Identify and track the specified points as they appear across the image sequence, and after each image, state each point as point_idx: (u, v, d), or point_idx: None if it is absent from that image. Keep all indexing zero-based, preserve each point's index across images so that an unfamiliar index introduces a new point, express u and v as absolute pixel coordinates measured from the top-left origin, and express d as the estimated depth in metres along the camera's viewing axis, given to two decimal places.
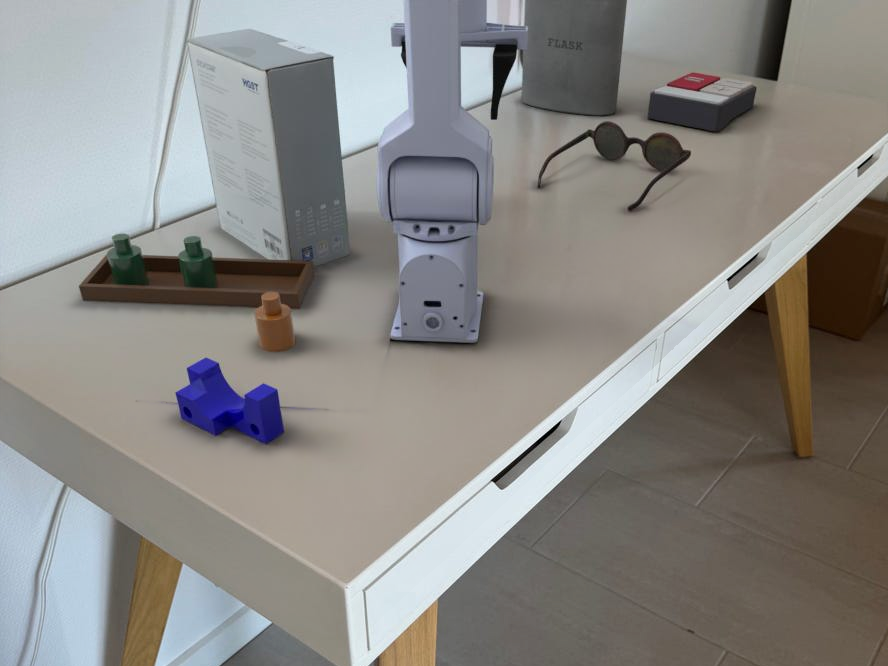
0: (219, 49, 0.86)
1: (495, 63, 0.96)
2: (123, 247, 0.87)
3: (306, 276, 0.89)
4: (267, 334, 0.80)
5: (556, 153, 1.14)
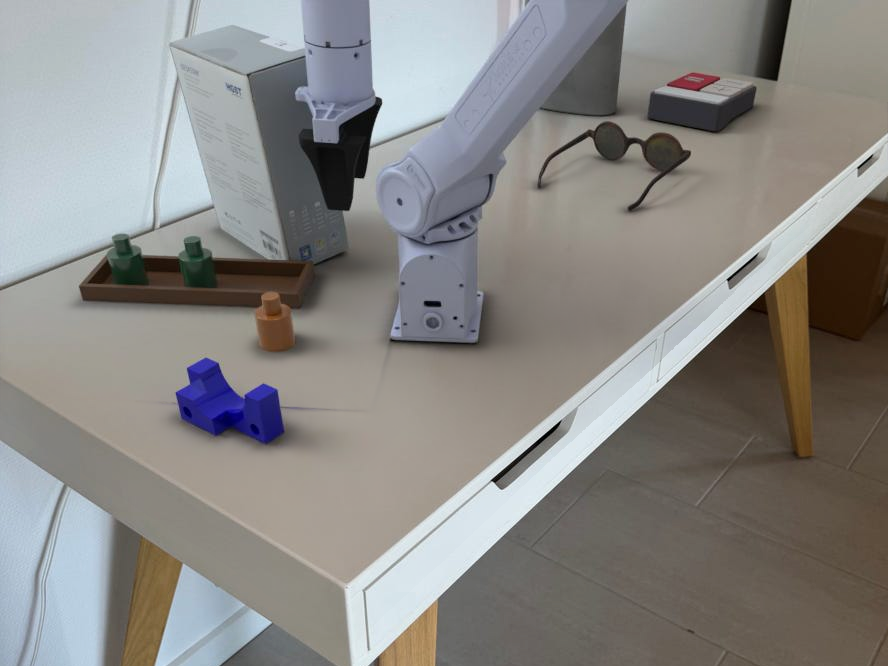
0: (201, 53, 0.85)
1: (378, 112, 0.86)
2: (123, 247, 0.87)
3: (306, 276, 0.89)
4: (267, 334, 0.80)
5: (556, 153, 1.14)
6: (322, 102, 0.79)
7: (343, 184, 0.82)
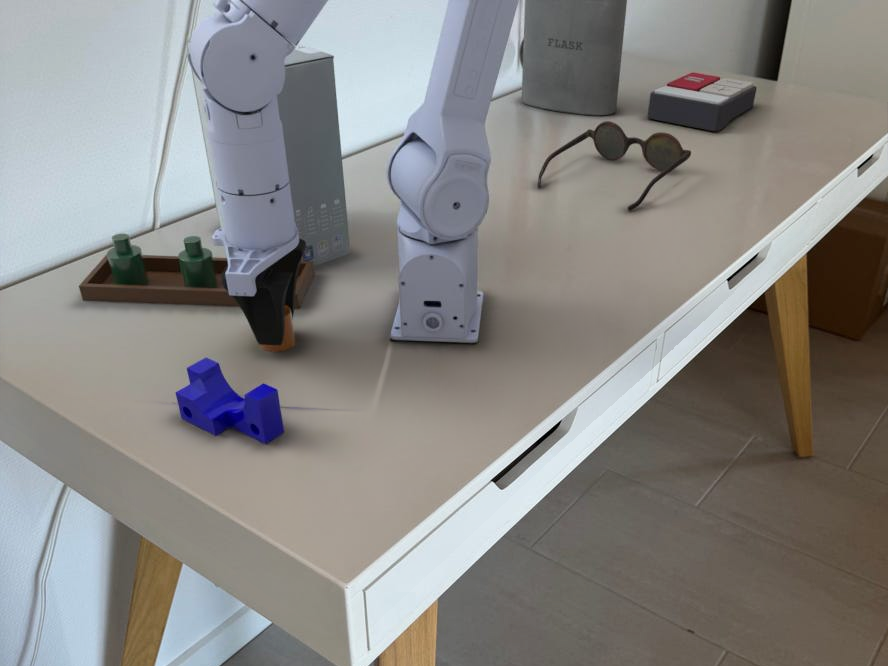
0: None
1: (301, 257, 0.79)
2: (123, 247, 0.87)
3: (306, 276, 0.89)
4: None
5: (556, 153, 1.14)
6: (239, 249, 0.73)
7: (272, 320, 0.78)
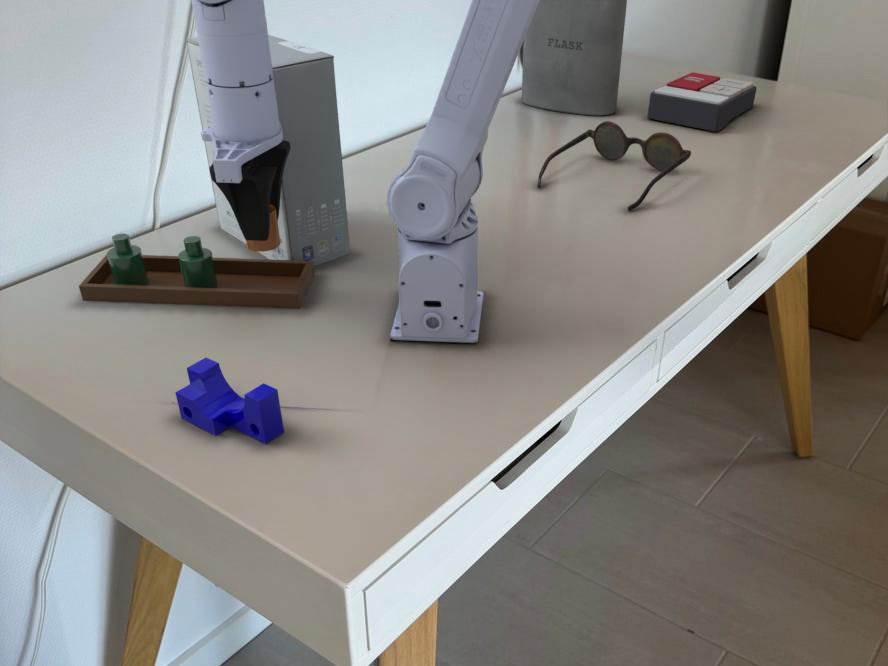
0: None
1: (285, 157, 0.83)
2: (123, 247, 0.87)
3: (306, 276, 0.89)
4: None
5: (556, 153, 1.14)
6: (226, 142, 0.78)
7: (258, 214, 0.82)
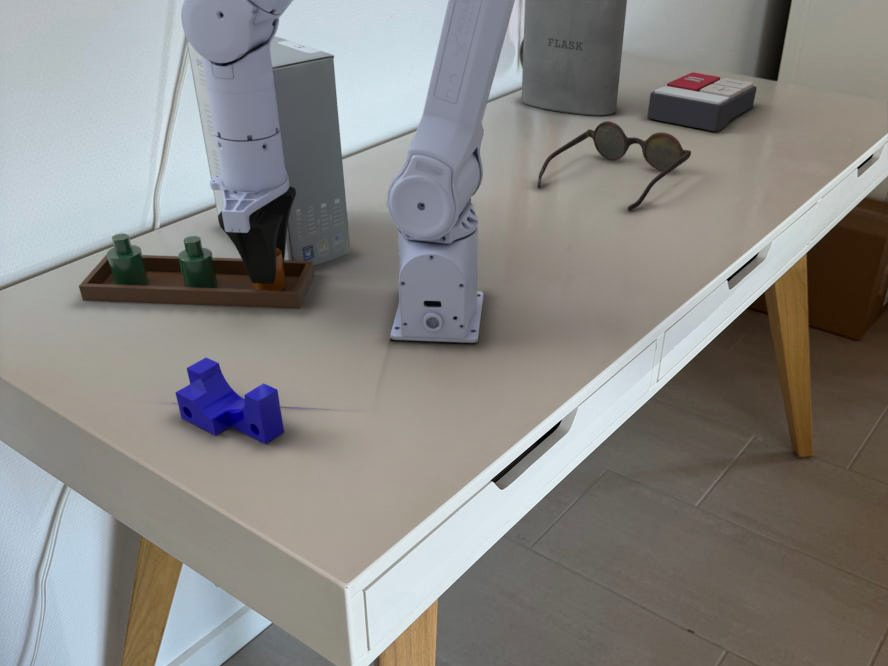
0: None
1: (291, 203, 0.86)
2: (123, 247, 0.87)
3: (306, 276, 0.89)
4: None
5: (556, 153, 1.14)
6: (234, 191, 0.81)
7: (265, 259, 0.85)
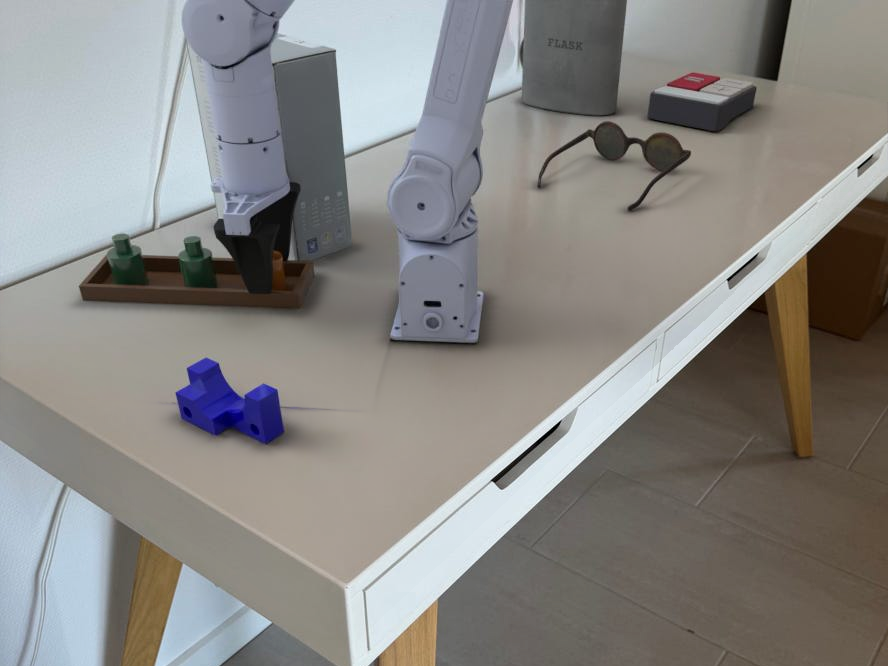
0: None
1: (296, 198, 0.88)
2: (123, 247, 0.87)
3: (306, 276, 0.89)
4: None
5: (556, 153, 1.14)
6: (235, 194, 0.81)
7: (261, 269, 0.84)
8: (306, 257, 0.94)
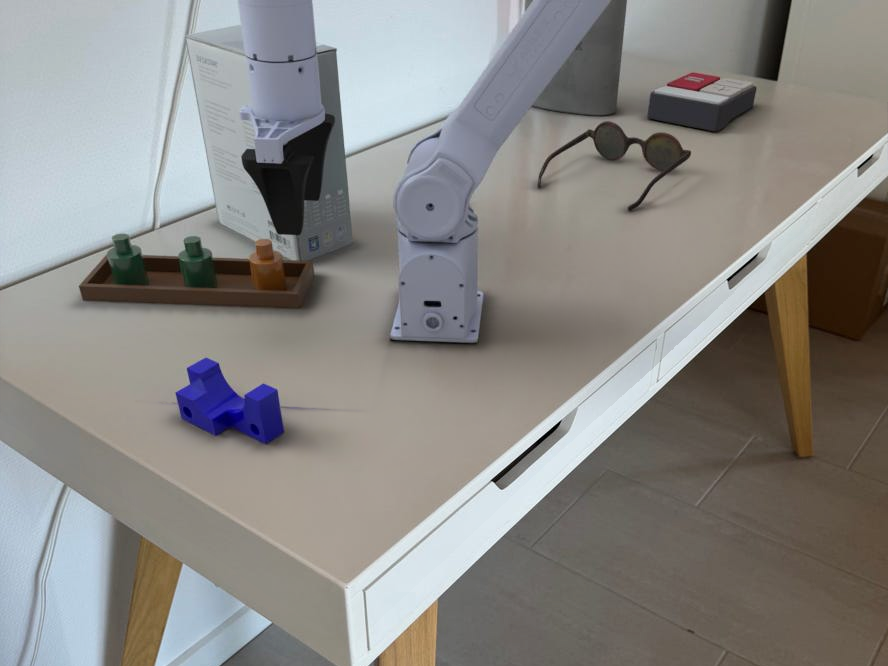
0: (221, 44, 0.87)
1: (330, 131, 0.81)
2: (123, 247, 0.87)
3: (306, 276, 0.89)
4: (260, 278, 0.87)
5: (556, 153, 1.14)
6: (266, 120, 0.74)
7: (292, 207, 0.77)
8: (308, 255, 0.95)
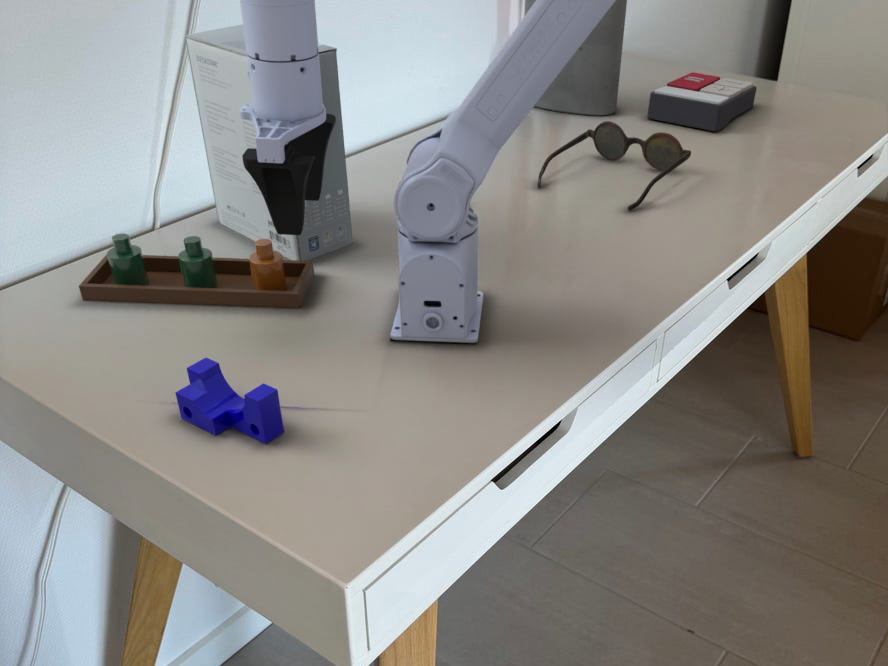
0: (221, 44, 0.87)
1: (331, 131, 0.81)
2: (123, 247, 0.87)
3: (306, 276, 0.89)
4: (260, 278, 0.87)
5: (556, 153, 1.14)
6: (268, 120, 0.74)
7: (293, 207, 0.77)
8: (308, 255, 0.95)
